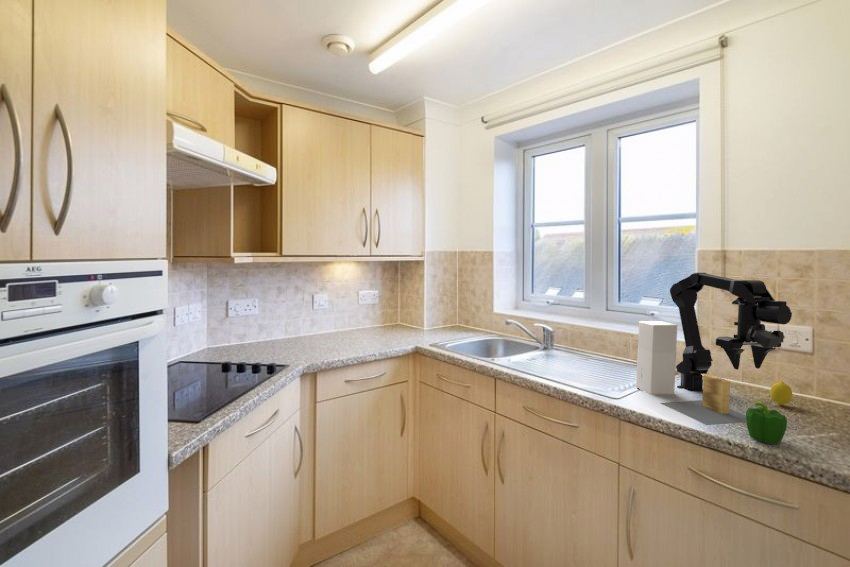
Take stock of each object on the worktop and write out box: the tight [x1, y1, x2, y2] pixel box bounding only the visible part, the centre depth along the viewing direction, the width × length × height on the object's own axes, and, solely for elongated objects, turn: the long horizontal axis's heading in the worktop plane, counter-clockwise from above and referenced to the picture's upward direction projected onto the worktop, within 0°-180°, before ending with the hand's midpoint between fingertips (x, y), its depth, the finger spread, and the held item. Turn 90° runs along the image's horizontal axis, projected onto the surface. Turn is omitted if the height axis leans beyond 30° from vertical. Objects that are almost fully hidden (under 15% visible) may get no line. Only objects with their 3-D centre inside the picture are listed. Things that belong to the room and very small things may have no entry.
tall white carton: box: [635, 320, 678, 395], centre depth 147 cm, size 9×9×25 cm
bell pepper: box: [745, 401, 788, 445], centre depth 108 cm, size 8×8×10 cm
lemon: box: [769, 381, 793, 406], centre depth 135 cm, size 6×6×8 cm
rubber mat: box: [660, 399, 746, 426], centre depth 127 cm, size 18×18×1 cm
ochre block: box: [702, 374, 731, 414], centre depth 129 cm, size 7×2×10 cm, turn 10°
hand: (746, 368), depth 130 cm, fingers open, 8 cm apart
